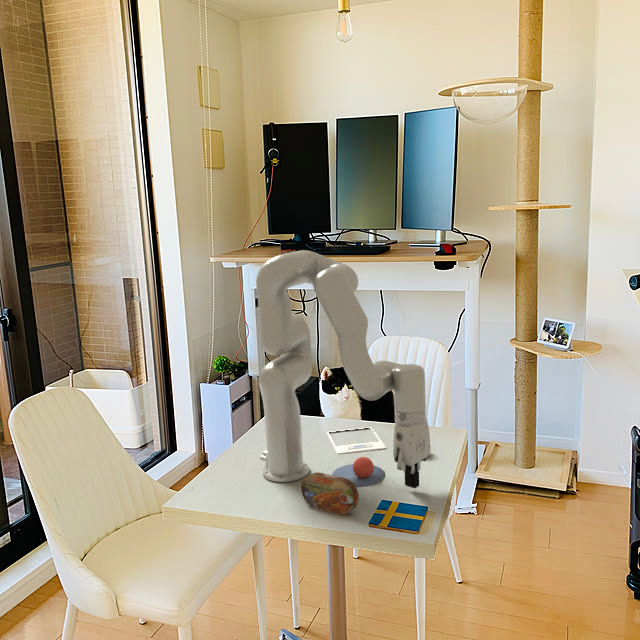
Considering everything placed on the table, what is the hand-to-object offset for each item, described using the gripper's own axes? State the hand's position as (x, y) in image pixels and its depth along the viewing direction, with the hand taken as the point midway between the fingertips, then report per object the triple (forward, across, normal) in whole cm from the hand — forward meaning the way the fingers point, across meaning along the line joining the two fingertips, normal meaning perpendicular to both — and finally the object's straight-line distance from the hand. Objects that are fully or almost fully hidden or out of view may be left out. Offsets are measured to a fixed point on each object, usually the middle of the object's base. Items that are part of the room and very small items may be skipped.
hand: (412, 485), depth 161 cm
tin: (+2, -19, +11) cm, 22 cm away
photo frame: (+2, +19, +33) cm, 38 cm away
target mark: (+2, 0, +17) cm, 17 cm away
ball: (-1, 0, +15) cm, 15 cm away
